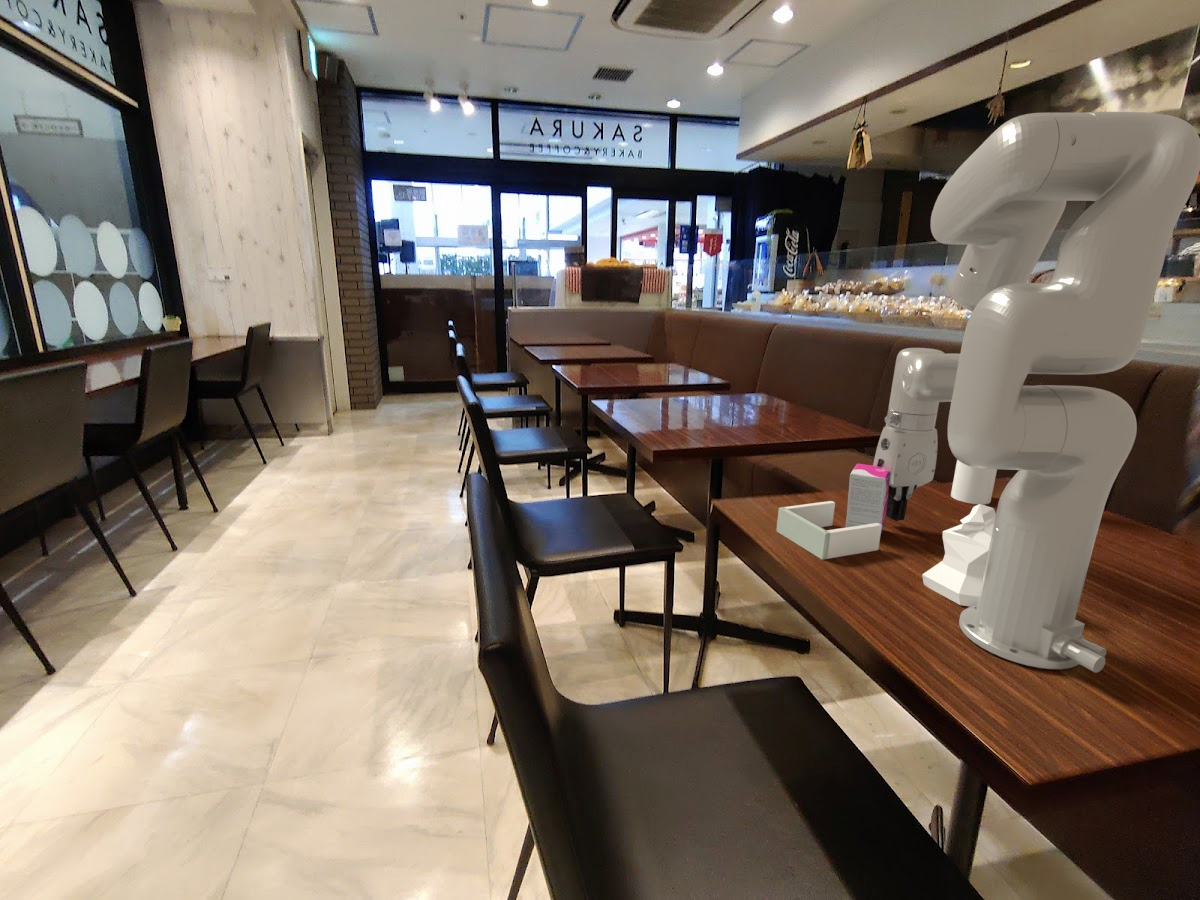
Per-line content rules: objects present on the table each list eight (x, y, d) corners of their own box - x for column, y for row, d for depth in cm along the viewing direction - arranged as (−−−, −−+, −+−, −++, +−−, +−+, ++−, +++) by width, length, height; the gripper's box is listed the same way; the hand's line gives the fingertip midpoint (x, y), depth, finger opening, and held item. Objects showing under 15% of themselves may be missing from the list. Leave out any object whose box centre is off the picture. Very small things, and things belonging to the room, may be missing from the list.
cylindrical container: (998, 504, 119) (1023, 383, 112) (963, 504, 119) (986, 382, 112) (977, 493, 126) (999, 377, 119) (943, 492, 126) (964, 377, 119)
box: (878, 550, 97) (882, 525, 96) (822, 559, 93) (825, 533, 92) (828, 523, 108) (831, 500, 107) (776, 531, 104) (778, 507, 103)
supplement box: (880, 539, 100) (885, 478, 97) (844, 532, 104) (847, 473, 100) (886, 525, 105) (891, 466, 101) (851, 519, 108) (855, 462, 104)
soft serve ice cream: (991, 638, 75) (979, 538, 72) (908, 590, 90) (896, 506, 86) (1071, 606, 77) (1063, 508, 74) (978, 564, 91) (968, 481, 88)
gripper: (893, 429, 95) (876, 531, 100) (962, 422, 100) (942, 520, 105) (860, 418, 102) (846, 514, 107) (926, 412, 106) (909, 505, 112)
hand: (893, 517), depth 106 cm, fingers closed
